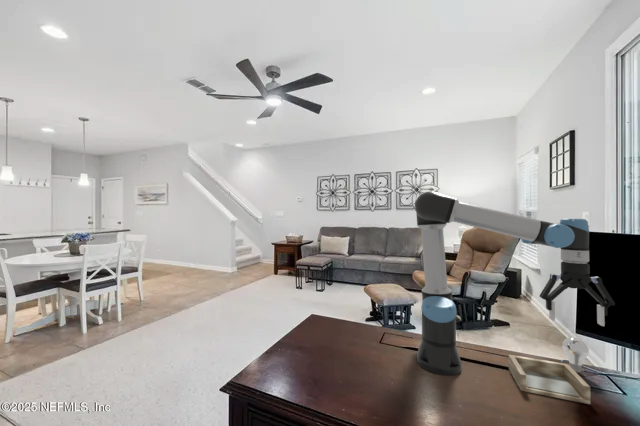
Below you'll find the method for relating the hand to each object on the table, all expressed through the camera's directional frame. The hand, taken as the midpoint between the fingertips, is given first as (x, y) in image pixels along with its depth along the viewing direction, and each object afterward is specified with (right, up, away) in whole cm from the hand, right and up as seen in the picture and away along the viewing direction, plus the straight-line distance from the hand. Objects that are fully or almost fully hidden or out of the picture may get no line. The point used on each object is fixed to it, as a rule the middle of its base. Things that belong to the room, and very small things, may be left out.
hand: (575, 322), depth 98 cm
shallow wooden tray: (-17, -17, -8) cm, 26 cm away
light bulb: (0, -18, 0) cm, 18 cm away
